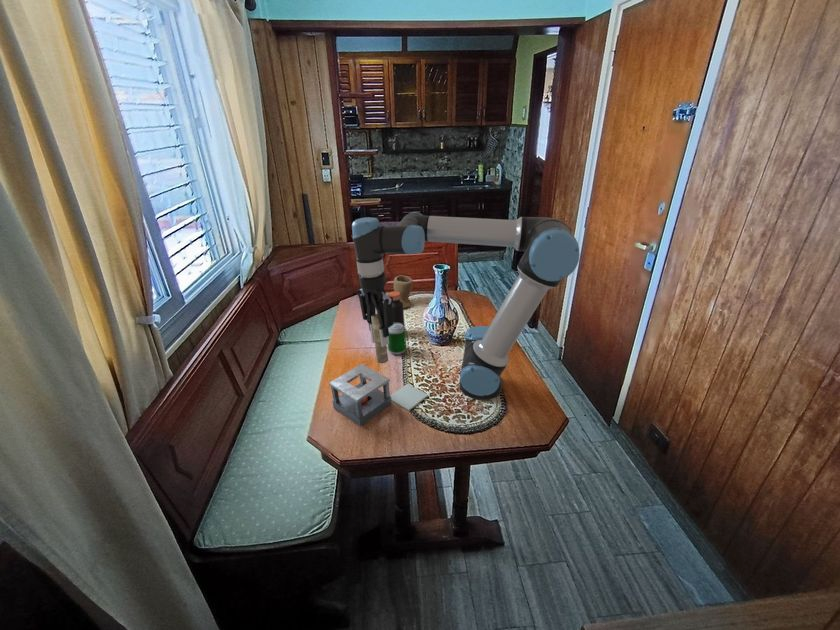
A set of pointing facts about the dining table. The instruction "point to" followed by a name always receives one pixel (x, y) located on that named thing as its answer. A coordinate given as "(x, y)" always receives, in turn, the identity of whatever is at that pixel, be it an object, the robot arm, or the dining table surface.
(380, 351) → the dowel
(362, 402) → the plunger
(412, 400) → the coaster
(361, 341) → the dining table surface
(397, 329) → the soda can
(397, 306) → the bottle
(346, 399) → the grey open frame cage
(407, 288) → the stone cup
